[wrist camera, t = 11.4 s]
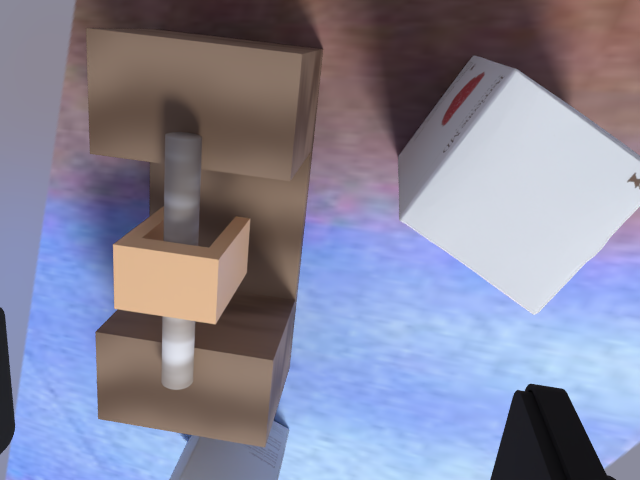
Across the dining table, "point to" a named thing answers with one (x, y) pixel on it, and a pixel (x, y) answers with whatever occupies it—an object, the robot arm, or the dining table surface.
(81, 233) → the dining table surface
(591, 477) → the robot arm
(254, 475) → the supplement box
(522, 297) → the supplement box
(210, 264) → the cord clip
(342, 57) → the dining table surface
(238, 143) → the rod slider mechanism
